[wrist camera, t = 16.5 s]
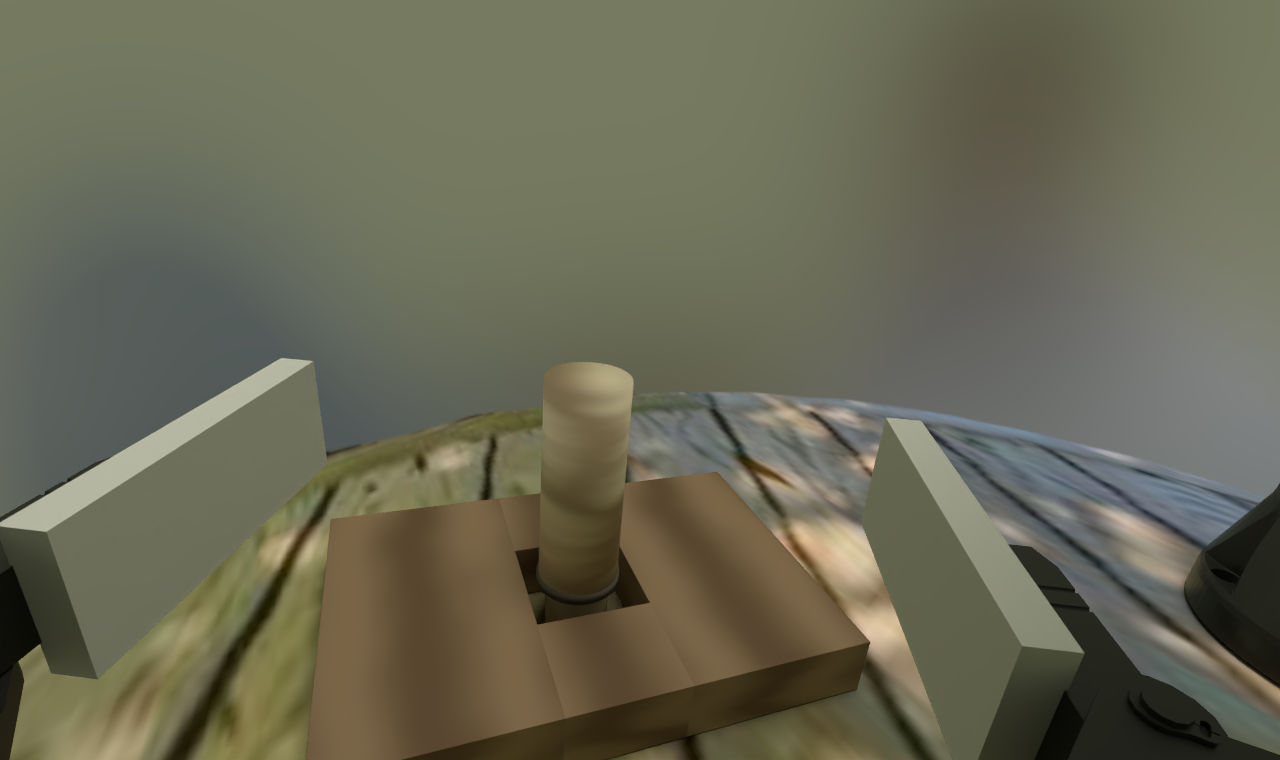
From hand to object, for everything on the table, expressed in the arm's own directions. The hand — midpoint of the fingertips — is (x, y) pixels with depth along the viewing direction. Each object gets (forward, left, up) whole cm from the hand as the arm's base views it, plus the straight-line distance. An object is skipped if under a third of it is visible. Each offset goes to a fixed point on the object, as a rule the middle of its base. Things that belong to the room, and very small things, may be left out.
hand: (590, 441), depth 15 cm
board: (-4, -13, -18) cm, 23 cm away
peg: (-4, -13, -18) cm, 23 cm away
